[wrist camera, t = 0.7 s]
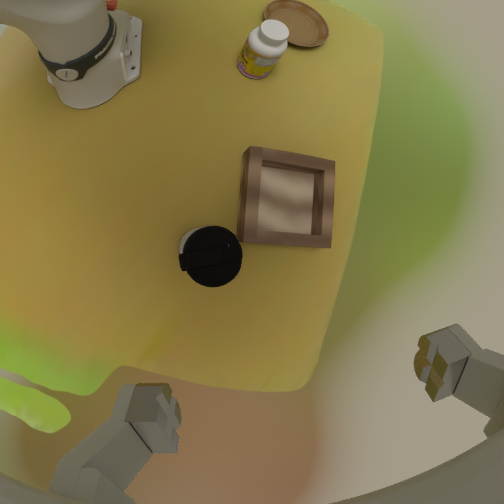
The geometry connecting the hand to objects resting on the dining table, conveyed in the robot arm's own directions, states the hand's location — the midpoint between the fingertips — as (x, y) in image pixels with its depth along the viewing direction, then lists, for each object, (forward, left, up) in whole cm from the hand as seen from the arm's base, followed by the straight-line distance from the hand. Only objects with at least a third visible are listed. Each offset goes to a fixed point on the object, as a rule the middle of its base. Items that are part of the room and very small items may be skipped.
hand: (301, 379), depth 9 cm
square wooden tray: (-11, +14, -42) cm, 45 cm away
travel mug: (-2, 0, -42) cm, 42 cm away
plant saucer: (-51, +15, -42) cm, 68 cm away
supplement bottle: (-37, +7, -42) cm, 56 cm away
